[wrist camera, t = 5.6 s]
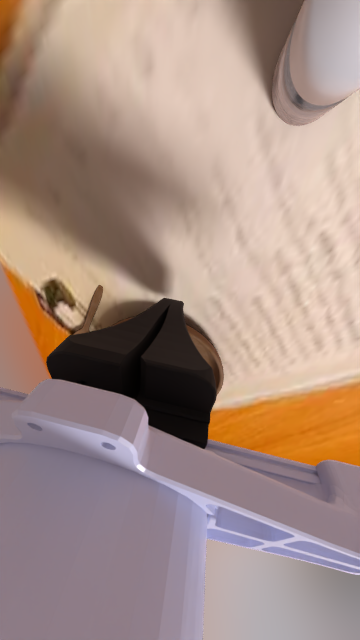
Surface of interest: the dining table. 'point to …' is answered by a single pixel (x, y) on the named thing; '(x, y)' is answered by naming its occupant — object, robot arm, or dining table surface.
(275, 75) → the grey flat block
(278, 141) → the dining table surface
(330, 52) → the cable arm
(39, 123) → the dining table surface
